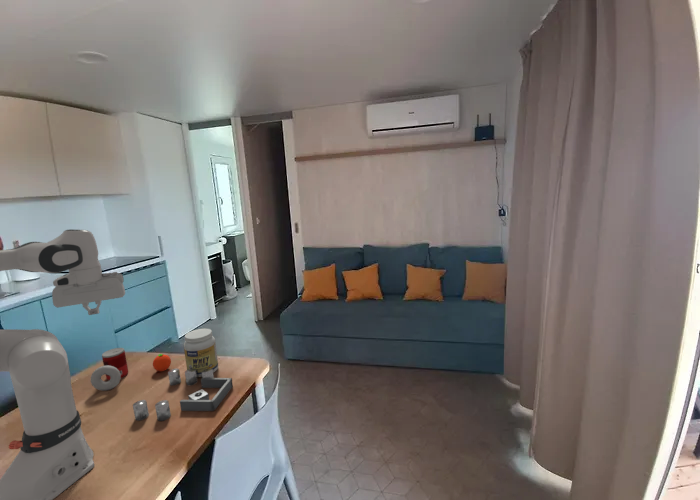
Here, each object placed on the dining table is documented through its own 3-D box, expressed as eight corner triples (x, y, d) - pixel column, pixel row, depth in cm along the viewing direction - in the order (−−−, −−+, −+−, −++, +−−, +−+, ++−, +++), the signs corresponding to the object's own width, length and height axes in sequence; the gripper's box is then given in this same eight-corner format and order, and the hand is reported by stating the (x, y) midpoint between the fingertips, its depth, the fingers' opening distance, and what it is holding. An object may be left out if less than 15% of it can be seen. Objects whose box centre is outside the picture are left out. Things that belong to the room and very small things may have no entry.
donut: (123, 384, 141) (119, 361, 139) (121, 389, 137) (116, 365, 136) (94, 390, 138) (90, 366, 136) (91, 395, 134) (86, 371, 133)
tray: (214, 411, 120) (212, 401, 119) (181, 410, 121) (179, 401, 121) (232, 386, 135) (231, 378, 134) (203, 386, 136) (202, 378, 135)
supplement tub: (186, 381, 140) (180, 341, 137) (189, 367, 152) (183, 330, 148) (218, 374, 144) (213, 335, 141) (219, 361, 155) (214, 325, 152)
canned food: (132, 371, 151) (128, 347, 149) (119, 381, 143) (114, 356, 141) (116, 371, 152) (112, 347, 150) (101, 381, 144) (97, 356, 142)
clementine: (151, 369, 151) (148, 354, 150) (168, 363, 156) (166, 348, 155) (156, 376, 146) (153, 360, 144) (174, 369, 150) (171, 354, 149)
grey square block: (195, 408, 122) (194, 400, 122) (189, 403, 126) (188, 395, 125) (209, 401, 126) (208, 393, 126) (202, 396, 129) (201, 388, 129)
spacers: (180, 421, 115) (178, 407, 115) (129, 420, 117) (127, 407, 116) (216, 379, 140) (214, 368, 139) (173, 379, 142) (171, 368, 141)
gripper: (123, 269, 128) (129, 305, 130) (52, 278, 119) (61, 317, 121) (120, 272, 122) (127, 310, 124) (46, 282, 113) (55, 323, 116)
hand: (94, 313), depth 123 cm, fingers closed
